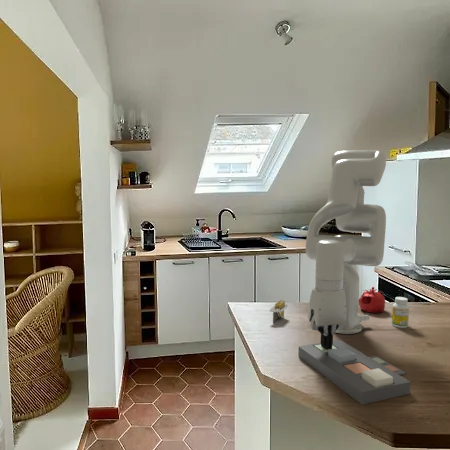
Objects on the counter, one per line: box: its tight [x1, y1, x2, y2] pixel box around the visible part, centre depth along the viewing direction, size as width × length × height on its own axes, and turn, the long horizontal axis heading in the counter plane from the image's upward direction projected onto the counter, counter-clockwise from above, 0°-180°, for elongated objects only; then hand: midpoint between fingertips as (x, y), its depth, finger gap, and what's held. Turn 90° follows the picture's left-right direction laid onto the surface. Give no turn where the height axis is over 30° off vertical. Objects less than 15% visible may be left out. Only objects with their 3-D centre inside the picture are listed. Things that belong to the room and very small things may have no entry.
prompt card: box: [369, 355, 406, 376], centre depth 120 cm, size 5×11×1 cm, turn 21°
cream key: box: [362, 368, 393, 388], centre depth 106 cm, size 5×5×3 cm
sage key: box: [314, 344, 336, 353], centre depth 126 cm, size 5×5×3 cm
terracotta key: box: [344, 363, 371, 375], centre depth 113 cm, size 5×5×3 cm
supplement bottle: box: [391, 296, 410, 329], centre depth 152 cm, size 5×5×10 cm
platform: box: [269, 299, 289, 323], centre depth 158 cm, size 12×18×7 cm, turn 154°
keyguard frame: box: [297, 339, 411, 405], centre depth 116 cm, size 14×28×3 cm, turn 21°
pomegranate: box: [358, 286, 386, 314], centre depth 168 cm, size 10×10×9 cm
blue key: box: [328, 347, 355, 363], centre depth 119 cm, size 5×5×3 cm
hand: (326, 347), depth 125 cm, fingers closed
